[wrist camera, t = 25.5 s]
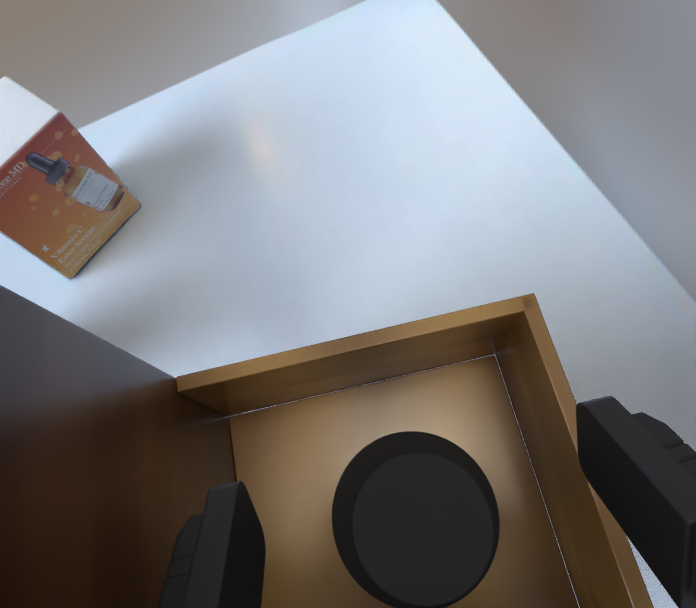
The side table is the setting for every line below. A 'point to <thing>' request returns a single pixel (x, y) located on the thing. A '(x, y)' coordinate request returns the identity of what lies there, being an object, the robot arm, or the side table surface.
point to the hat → (415, 520)
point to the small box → (54, 184)
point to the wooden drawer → (288, 458)
